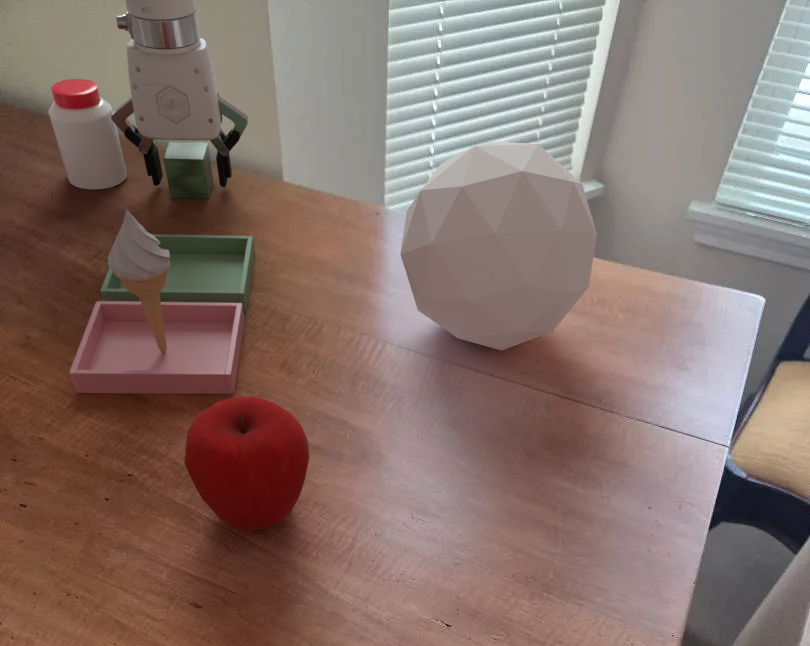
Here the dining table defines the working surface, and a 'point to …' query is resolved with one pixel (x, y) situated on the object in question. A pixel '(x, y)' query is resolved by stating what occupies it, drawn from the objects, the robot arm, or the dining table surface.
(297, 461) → the apple
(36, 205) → the dining table surface
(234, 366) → the pink tray
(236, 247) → the green tray
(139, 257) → the ice cream cone
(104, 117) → the pill bottle
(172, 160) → the green block
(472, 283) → the ball
